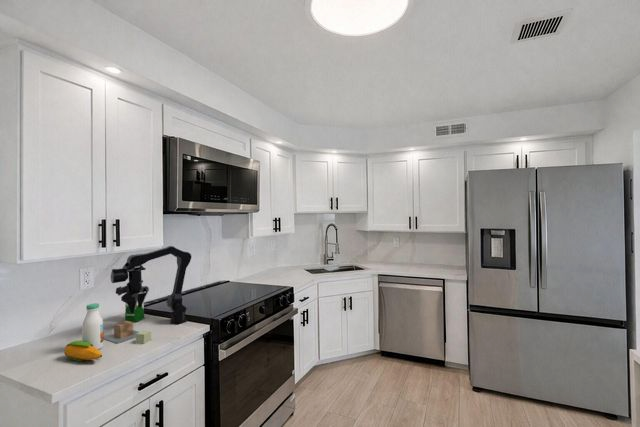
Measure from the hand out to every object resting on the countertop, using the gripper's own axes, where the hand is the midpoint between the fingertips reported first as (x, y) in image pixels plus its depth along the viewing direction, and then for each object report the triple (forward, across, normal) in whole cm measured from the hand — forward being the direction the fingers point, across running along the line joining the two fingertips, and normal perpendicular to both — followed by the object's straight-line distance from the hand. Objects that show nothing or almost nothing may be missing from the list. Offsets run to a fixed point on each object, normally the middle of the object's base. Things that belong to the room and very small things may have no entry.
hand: (136, 309), depth 165 cm
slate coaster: (+11, +6, -4) cm, 13 cm away
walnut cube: (+11, +6, -4) cm, 13 cm away
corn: (+11, +30, -9) cm, 33 cm away
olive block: (+12, +14, +8) cm, 20 cm away
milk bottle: (+11, +19, -11) cm, 25 cm away
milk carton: (+12, -20, -9) cm, 25 cm away
